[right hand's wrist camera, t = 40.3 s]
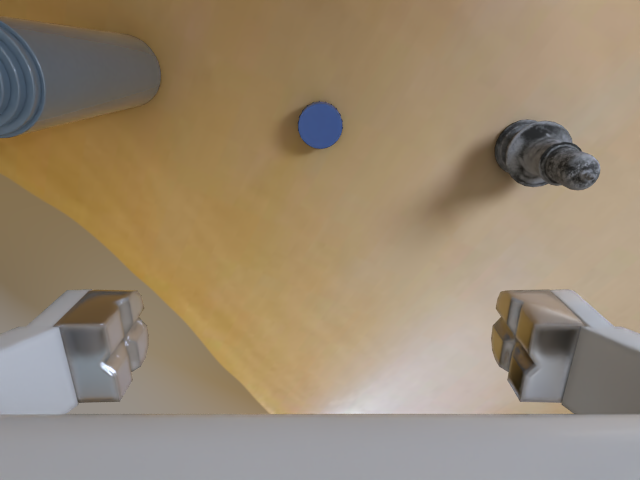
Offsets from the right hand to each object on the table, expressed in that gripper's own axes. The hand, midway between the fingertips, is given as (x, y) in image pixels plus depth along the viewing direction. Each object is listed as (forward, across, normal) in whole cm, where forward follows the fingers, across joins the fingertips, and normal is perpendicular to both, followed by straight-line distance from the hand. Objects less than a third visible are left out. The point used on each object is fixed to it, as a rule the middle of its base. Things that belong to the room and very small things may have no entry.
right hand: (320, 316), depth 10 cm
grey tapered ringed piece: (+34, -20, +2) cm, 40 cm away
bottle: (+34, +18, -5) cm, 39 cm away
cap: (+33, 0, 0) cm, 33 cm away
